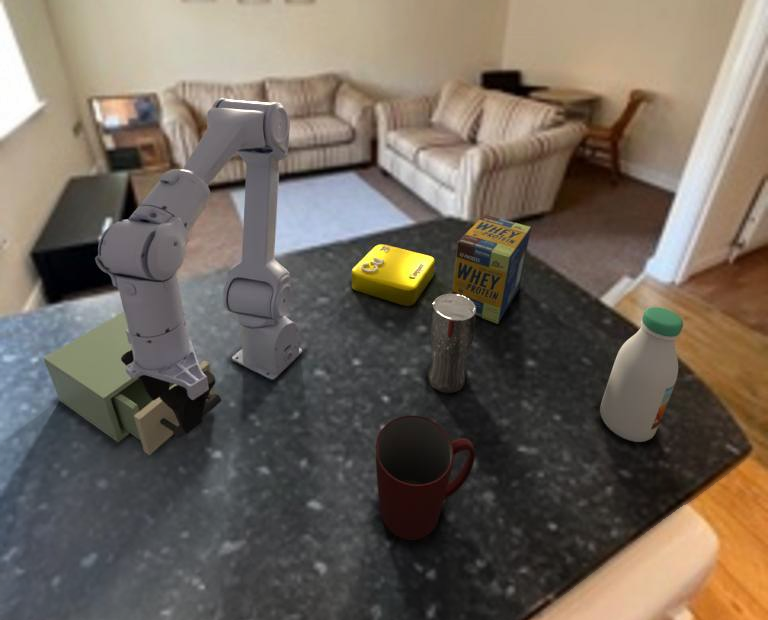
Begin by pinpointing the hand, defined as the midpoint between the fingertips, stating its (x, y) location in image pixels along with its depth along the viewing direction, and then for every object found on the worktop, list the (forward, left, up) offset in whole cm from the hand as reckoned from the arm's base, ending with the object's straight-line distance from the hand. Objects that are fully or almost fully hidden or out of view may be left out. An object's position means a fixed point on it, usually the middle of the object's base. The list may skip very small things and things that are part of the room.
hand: (175, 410), depth 55 cm
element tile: (-3, -53, -11) cm, 54 cm away
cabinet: (+19, -4, -11) cm, 22 cm away
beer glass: (-24, -32, -11) cm, 41 cm away
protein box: (-23, -58, -11) cm, 63 cm away
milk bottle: (-51, -38, -11) cm, 65 cm away
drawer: (+10, -4, -10) cm, 14 cm away
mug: (-29, -11, -11) cm, 33 cm away
